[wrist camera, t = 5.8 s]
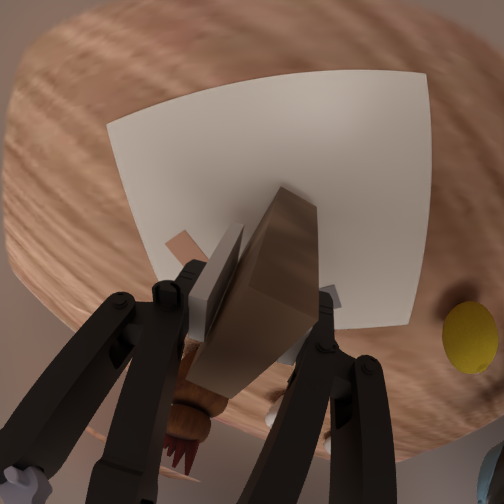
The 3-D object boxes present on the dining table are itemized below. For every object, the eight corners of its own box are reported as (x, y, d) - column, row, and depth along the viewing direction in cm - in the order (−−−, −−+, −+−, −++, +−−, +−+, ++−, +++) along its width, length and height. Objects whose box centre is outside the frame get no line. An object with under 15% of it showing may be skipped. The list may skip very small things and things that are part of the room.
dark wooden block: (316, 198, 17) (318, 320, 8) (233, 319, 24) (197, 424, 15) (282, 179, 16) (248, 285, 8) (209, 307, 24) (163, 410, 15)
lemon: (426, 305, 21) (449, 374, 15) (472, 274, 18) (508, 337, 12) (441, 334, 23) (459, 396, 16) (482, 307, 20) (510, 366, 13)
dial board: (404, 312, 22) (408, 325, 21) (184, 316, 28) (178, 327, 26) (417, 74, 12) (426, 73, 11) (117, 121, 18) (105, 124, 16)
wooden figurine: (241, 352, 29) (204, 477, 17) (235, 377, 32) (203, 483, 20) (184, 335, 30) (130, 450, 17) (184, 361, 33) (141, 461, 20)
